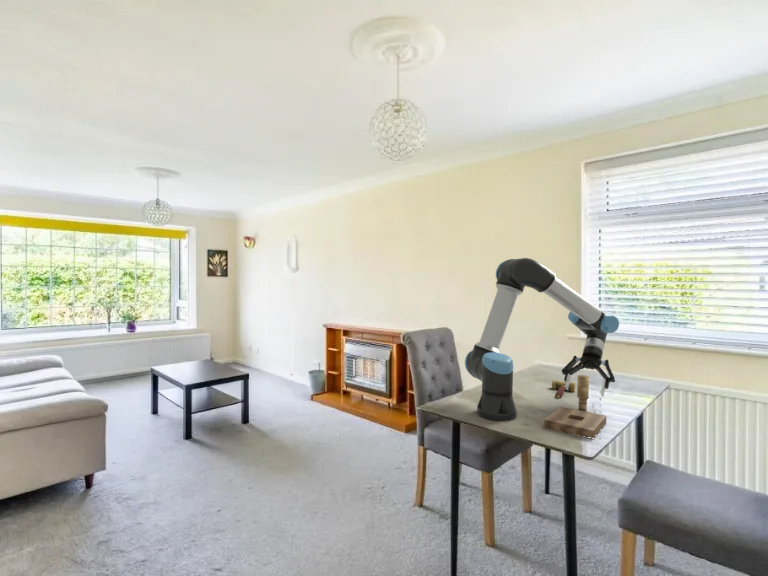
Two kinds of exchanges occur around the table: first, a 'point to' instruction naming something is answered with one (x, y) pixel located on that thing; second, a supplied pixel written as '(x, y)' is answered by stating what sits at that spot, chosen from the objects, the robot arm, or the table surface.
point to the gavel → (562, 387)
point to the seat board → (575, 422)
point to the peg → (583, 391)
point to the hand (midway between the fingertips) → (583, 391)
